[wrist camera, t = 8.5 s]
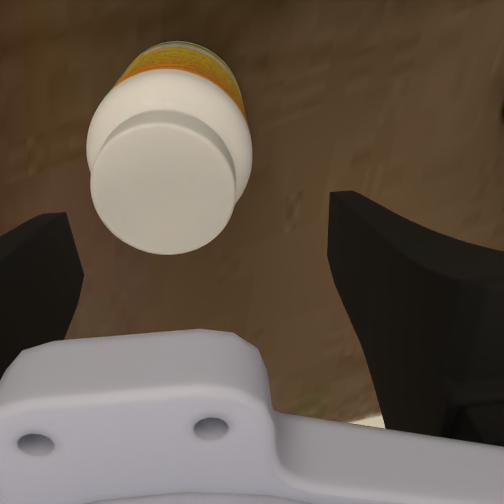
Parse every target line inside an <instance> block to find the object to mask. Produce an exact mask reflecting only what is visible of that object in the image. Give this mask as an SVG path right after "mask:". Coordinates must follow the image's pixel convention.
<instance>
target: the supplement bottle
mask: <svg viewBox="0 0 504 504" xmlns="http://www.w3.org/2000/svg"><path fill="white" fill-rule="evenodd" d="M87 161H88V165H89V169H90V172H91V182H90V187H91V195H92V200H93V203H94V206H95V209H96V211H97V213H98V215H99V217H100V218H101V220H102V222H103V223H104V224H105V226H106V227H107V228H108V229H109V230H110V231H111V232H112V233H113V234H114V235H115V236H116V237H118V238H119V239H121V240H122V241H123V242H125V243H127V244H128V245H130V246H133V247H135V248H137V249H139V250H142V251H145V252H149V253H153V254H162V255H174V254H182V253H186V252H190V251H193V250H196V249H198V248H200V247H202V246H204V245H206V244H207V243H209V242H210V241H212V240H213V239H214V238H215V237H216V236H217V235H218V234H219V233H220V232H221V231H222V230H223V229H224V227H225V226H226V225H227V223H228V221H229V219H230V217H231V215H232V213H233V209H234V206H235V204H236V202H237V201H238V200H239V198H240V197H241V195H242V193H243V191H244V189H245V187H246V185H247V182H248V179H249V176H250V172H251V167H252V143H251V136H250V131H249V127H248V123H247V119H246V114H245V109H244V105H243V100H242V96H241V92H240V89H239V86H238V83H237V81H236V79H235V77H234V75H233V73H232V72H231V70H230V69H229V67H228V66H227V65H226V63H225V62H224V61H223V60H222V59H221V58H220V57H218V56H217V55H216V54H215V53H213V52H212V51H210V50H208V49H207V48H205V47H202V46H200V45H197V44H194V43H190V42H184V41H170V42H164V43H161V44H158V45H155V46H153V47H151V48H149V49H147V50H145V51H144V52H143V53H141V54H140V55H139V56H138V57H137V58H136V59H134V61H133V62H132V63H131V64H130V65H129V66H128V68H127V69H126V71H125V72H124V73H123V75H122V76H121V77H120V78H119V80H118V81H117V83H116V84H115V85H114V86H113V88H112V89H111V90H110V91H109V93H108V94H107V95H106V96H105V98H104V99H103V101H102V102H101V103H100V105H99V107H98V108H97V110H96V112H95V114H94V116H93V118H92V120H91V123H90V127H89V130H88V136H87Z"/></svg>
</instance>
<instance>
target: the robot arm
mask: <svg viewBox="0 0 504 504" xmlns="http://www.w3.org/2000/svg"><path fill="white" fill-rule="evenodd" d="M327 256H328V260H329V264H330V268H331V272H332V276H333V280H334V283H335V286H336V288H337V290H338V293H339V295H340V297H341V300H342V302H343V304H344V307H345V309H346V311H347V314H348V316H349V318H350V320H351V323H352V325H353V327H354V330H355V332H356V334H357V336H358V339H359V341H360V343H361V346H362V349H363V351H364V354H365V357H366V361H367V364H368V367H369V371H370V374H371V377H372V381H373V384H374V387H375V391H376V395H377V398H378V402H379V405H380V409H381V413H382V416H383V420H384V424H385V428H386V429H384V428H377V427H370V426H364V425H357V424H351V423H345V422H338V421H331V420H325V419H318V418H312V417H305V416H299V415H292V414H286V413H279V412H277V411H275V410H274V409H273V407H272V403H271V396H270V388H269V381H268V373H267V369H266V366H265V364H264V362H263V360H262V357H261V355H260V353H259V350H258V348H257V347H255V346H253V345H252V344H250V343H249V342H247V341H245V340H244V339H242V338H241V337H239V336H237V335H236V334H234V333H232V332H223V331H215V330H206V329H190V330H178V331H166V332H154V333H142V334H131V335H119V336H107V337H95V338H83V339H71V340H64V338H65V335H66V333H67V330H68V328H69V325H70V323H71V320H72V318H73V315H74V313H75V310H76V307H77V305H78V301H79V296H80V292H81V287H82V282H83V277H84V273H83V270H82V266H81V263H80V259H79V256H78V252H77V249H76V245H75V242H74V239H73V235H72V232H71V228H70V225H69V221H68V218H67V214H66V212H61V213H48V214H41V215H39V216H36V217H34V218H32V219H30V220H28V221H27V222H25V223H23V224H21V225H19V226H18V227H16V228H14V229H13V230H11V231H9V232H8V233H6V234H4V235H2V236H1V237H0V504H504V252H503V251H498V250H494V249H490V248H486V247H482V246H478V245H474V244H471V243H467V242H464V241H461V240H457V239H455V238H452V237H449V236H446V235H443V234H440V233H438V232H435V231H433V230H430V229H428V228H425V227H423V226H421V225H419V224H416V223H414V222H412V221H410V220H408V219H406V218H404V217H402V216H400V215H398V214H396V213H394V212H392V211H390V210H388V209H387V208H385V207H383V206H381V205H379V204H378V203H376V202H374V201H372V200H370V199H369V198H367V197H365V196H363V195H361V194H359V193H357V192H354V191H340V192H330V202H329V225H328V249H327Z"/></svg>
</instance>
